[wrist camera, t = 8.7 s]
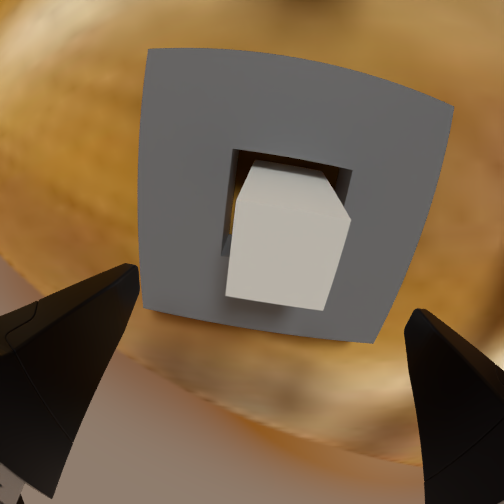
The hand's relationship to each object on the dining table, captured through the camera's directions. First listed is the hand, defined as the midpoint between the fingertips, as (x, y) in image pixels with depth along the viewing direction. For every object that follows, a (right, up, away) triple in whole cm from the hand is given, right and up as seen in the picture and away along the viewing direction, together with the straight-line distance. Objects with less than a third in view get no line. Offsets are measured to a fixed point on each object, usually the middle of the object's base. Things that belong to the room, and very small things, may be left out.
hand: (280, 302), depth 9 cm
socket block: (+1, +5, +9) cm, 10 cm away
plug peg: (+1, +5, +9) cm, 10 cm away
